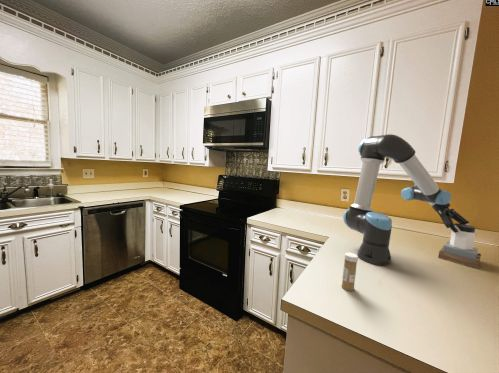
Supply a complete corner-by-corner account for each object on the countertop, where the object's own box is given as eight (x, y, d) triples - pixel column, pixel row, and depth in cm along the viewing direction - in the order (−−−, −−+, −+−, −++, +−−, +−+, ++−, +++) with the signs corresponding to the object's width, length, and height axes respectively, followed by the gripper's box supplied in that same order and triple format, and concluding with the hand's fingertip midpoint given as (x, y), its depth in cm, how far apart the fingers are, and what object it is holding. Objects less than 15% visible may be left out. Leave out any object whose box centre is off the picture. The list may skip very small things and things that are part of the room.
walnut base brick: (478, 269, 104) (479, 260, 104) (438, 257, 116) (439, 250, 115) (479, 261, 114) (481, 253, 114) (442, 251, 125) (444, 244, 125)
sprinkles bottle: (354, 292, 79) (358, 258, 78) (341, 289, 81) (345, 255, 79) (353, 286, 83) (357, 253, 82) (341, 283, 85) (344, 251, 83)
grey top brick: (475, 260, 106) (476, 253, 106) (443, 251, 115) (444, 245, 115) (476, 254, 114) (477, 248, 114) (446, 247, 123) (447, 241, 123)
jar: (459, 244, 119) (463, 223, 117) (476, 250, 111) (480, 228, 109) (445, 244, 118) (449, 223, 117) (461, 250, 110) (465, 227, 108)
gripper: (443, 205, 131) (471, 237, 119) (420, 207, 121) (449, 242, 109) (455, 198, 126) (486, 231, 114) (433, 199, 115) (465, 235, 103)
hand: (468, 236), depth 111 cm, fingers open, 13 cm apart
